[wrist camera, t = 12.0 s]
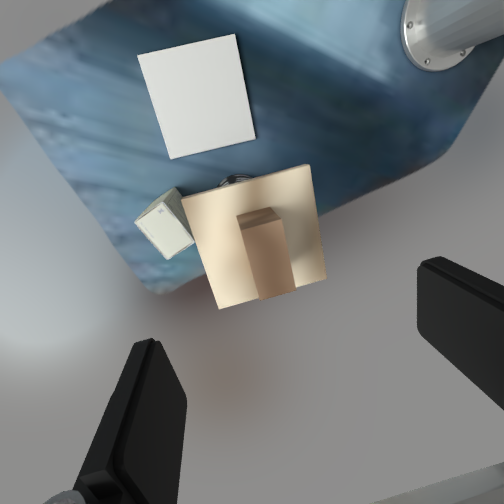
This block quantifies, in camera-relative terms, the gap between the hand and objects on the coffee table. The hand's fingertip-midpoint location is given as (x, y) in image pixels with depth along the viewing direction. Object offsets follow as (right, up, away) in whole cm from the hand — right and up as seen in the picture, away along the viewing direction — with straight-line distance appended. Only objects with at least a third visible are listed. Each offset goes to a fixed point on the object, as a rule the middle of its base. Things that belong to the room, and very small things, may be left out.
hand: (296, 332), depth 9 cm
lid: (-1, +4, +16) cm, 16 cm away
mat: (-9, +24, +28) cm, 38 cm away
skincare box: (-14, +10, +34) cm, 38 cm away
